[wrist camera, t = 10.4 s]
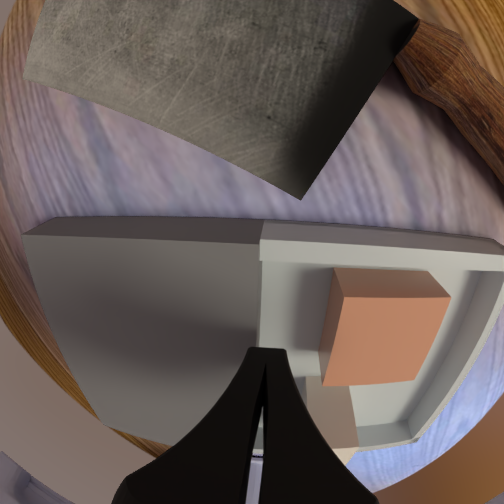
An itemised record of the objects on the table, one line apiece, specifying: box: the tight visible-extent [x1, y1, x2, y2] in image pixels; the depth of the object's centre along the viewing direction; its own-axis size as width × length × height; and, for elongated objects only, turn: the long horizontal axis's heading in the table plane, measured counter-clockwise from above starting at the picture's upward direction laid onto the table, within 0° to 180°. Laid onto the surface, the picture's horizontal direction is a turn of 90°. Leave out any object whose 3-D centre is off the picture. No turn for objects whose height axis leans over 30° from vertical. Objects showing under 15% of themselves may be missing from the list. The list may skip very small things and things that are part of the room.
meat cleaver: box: [23, 0, 504, 200], centre depth 8 cm, size 34×11×4 cm, turn 62°
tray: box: [253, 220, 504, 454], centre depth 13 cm, size 16×13×2 cm
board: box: [21, 216, 264, 446], centre depth 14 cm, size 16×12×3 cm
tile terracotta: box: [318, 267, 451, 386], centre depth 11 cm, size 5×5×2 cm
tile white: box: [301, 376, 359, 465], centre depth 13 cm, size 5×5×2 cm
